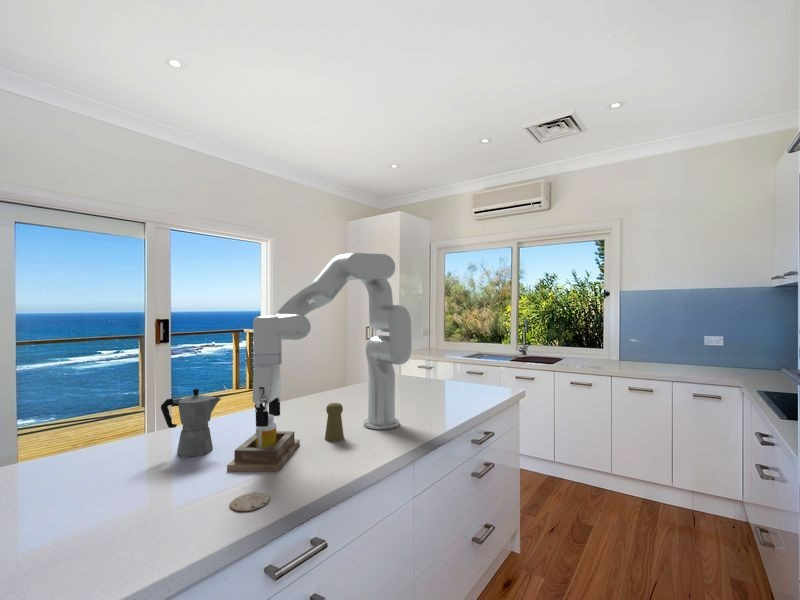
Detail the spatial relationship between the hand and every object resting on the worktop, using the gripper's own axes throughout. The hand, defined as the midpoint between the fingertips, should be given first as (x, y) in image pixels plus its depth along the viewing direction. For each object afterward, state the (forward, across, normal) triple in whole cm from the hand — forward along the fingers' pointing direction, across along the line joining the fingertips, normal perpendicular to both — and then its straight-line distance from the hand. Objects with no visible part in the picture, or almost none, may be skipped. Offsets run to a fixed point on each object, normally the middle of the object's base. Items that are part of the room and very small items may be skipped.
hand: (268, 420), depth 111 cm
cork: (+10, -16, +16) cm, 24 cm away
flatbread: (+10, +26, +6) cm, 29 cm away
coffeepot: (+10, -2, -24) cm, 26 cm away
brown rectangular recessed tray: (+10, 0, 0) cm, 10 cm away
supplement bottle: (+8, +1, 0) cm, 9 cm away
